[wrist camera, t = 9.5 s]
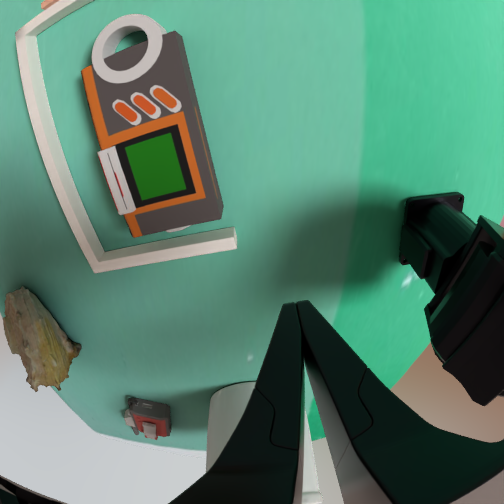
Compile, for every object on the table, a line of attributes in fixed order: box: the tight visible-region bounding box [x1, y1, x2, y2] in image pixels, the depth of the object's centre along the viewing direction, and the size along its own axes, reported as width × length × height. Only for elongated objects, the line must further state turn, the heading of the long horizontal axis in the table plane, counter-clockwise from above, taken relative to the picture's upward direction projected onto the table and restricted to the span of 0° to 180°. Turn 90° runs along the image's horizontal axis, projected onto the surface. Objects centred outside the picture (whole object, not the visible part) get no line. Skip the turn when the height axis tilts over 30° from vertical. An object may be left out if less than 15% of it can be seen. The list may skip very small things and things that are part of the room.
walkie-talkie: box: [124, 398, 171, 440], centre depth 41 cm, size 9×4×20 cm
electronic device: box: [81, 14, 224, 238], centre depth 15 cm, size 7×3×15 cm
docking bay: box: [15, 0, 237, 273], centre depth 15 cm, size 12×23×2 cm, turn 10°
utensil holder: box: [206, 382, 323, 504], centre depth 30 cm, size 15×15×18 cm
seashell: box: [3, 286, 81, 392], centre depth 24 cm, size 11×14×10 cm
